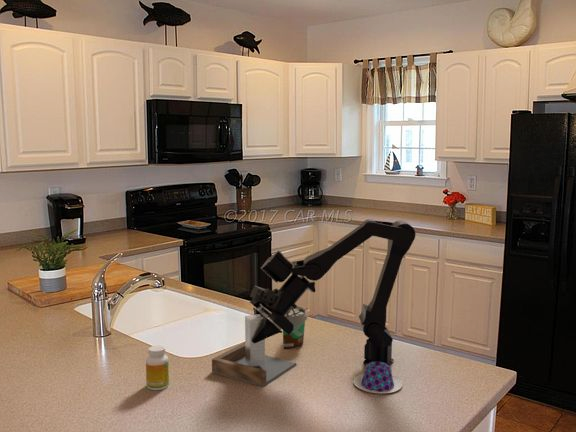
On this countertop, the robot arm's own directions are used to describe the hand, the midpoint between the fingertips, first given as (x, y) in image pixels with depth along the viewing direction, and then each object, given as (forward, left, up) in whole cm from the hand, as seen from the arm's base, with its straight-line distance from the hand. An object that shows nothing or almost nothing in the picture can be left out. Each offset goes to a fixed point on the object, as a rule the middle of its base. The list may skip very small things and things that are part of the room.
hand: (250, 339), depth 148 cm
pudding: (-32, -10, -9) cm, 34 cm away
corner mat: (-1, -1, -8) cm, 8 cm away
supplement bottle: (+13, +20, -8) cm, 26 cm away
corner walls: (-1, -1, -8) cm, 8 cm away
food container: (-1, -23, -8) cm, 24 cm away
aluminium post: (-1, -1, -7) cm, 7 cm away
